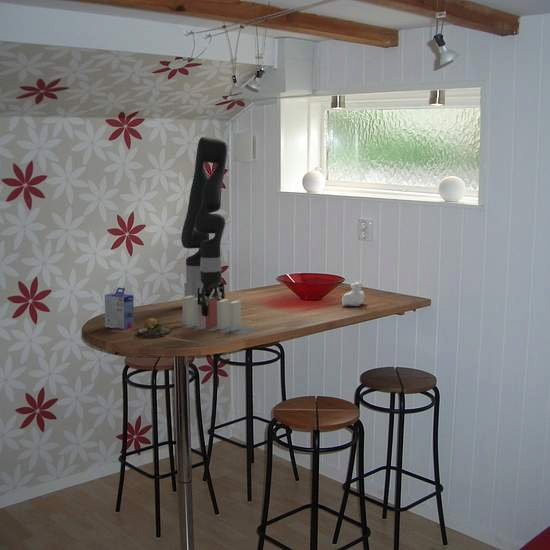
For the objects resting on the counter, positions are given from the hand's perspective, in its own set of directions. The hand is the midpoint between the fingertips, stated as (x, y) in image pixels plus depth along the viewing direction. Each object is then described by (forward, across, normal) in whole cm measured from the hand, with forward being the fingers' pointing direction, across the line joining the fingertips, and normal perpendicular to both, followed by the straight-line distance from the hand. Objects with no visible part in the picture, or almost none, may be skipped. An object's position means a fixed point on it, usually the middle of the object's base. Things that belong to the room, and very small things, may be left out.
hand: (211, 313), depth 275 cm
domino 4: (+5, 0, +10) cm, 11 cm away
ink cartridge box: (+6, +15, -30) cm, 34 cm away
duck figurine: (+6, -62, +30) cm, 69 cm away
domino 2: (+5, 0, -5) cm, 7 cm away
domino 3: (+5, 0, +5) cm, 7 cm away
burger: (+6, +17, -13) cm, 22 cm away
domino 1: (+5, 0, -10) cm, 11 cm away
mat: (+5, 0, +2) cm, 6 cm away
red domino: (+5, 0, 0) cm, 5 cm away
